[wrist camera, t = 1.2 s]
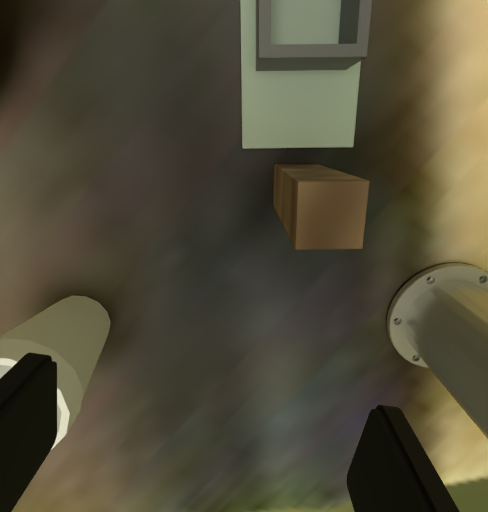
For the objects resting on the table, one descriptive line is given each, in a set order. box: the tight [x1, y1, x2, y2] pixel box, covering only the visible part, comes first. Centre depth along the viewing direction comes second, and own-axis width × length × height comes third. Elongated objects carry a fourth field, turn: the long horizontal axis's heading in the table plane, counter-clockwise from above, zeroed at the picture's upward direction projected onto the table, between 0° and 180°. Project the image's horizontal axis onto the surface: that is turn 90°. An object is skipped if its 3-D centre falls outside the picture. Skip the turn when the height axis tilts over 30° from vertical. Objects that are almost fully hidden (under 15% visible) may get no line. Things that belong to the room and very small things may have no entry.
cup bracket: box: [240, 0, 372, 148], centre depth 26 cm, size 10×17×6 cm, turn 1°
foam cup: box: [0, 295, 111, 450], centre depth 31 cm, size 10×9×13 cm
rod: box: [274, 164, 369, 250], centre depth 26 cm, size 4×4×14 cm
